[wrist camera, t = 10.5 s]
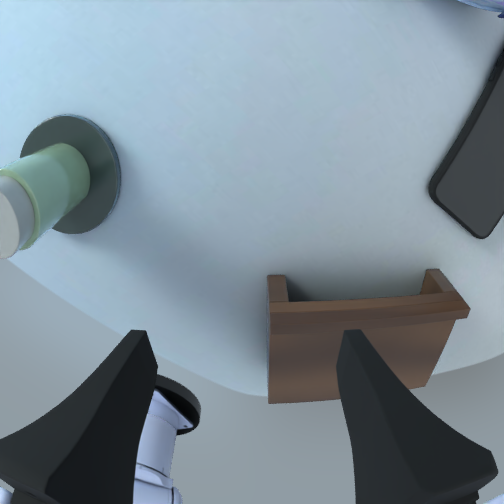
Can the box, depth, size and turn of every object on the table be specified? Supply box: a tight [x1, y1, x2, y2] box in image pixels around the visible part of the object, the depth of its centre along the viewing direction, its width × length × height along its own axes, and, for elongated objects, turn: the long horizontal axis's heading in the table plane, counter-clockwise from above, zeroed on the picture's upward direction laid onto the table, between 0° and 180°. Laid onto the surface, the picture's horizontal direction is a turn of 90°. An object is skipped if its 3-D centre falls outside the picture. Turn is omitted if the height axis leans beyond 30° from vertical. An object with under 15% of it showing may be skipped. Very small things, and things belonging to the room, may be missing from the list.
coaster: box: [20, 115, 121, 234], centre depth 18 cm, size 8×8×1 cm
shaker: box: [0, 143, 90, 259], centre depth 14 cm, size 4×4×7 cm
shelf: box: [267, 269, 470, 404], centre depth 21 cm, size 9×13×5 cm
